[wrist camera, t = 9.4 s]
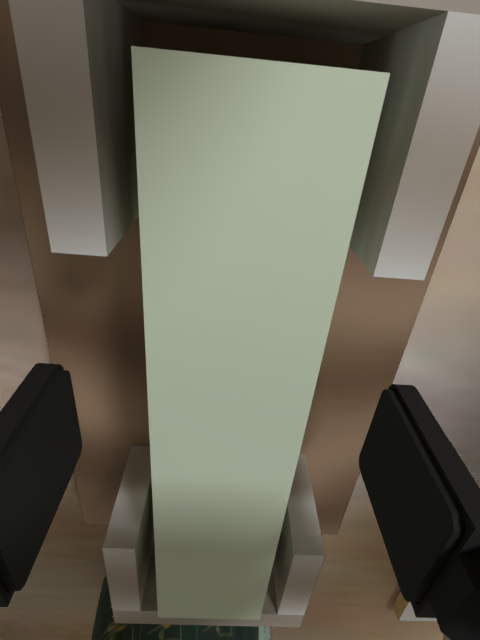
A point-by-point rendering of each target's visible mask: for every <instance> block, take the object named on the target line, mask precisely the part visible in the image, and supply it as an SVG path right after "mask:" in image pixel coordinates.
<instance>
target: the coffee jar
mask: <svg viewBox="0 0 480 640" xmlns="http://www.w3.org/2000/svg"><path fill="white" fill-rule="evenodd" d="M92 640H271V627H256V626H214V625H173V624H132V623H115V622H114V616H113V610H112V604H111V598H110V592H109V587H108V581H107V575H106V577H105V579H104V582H103V585H102V590H101V594H100V598H99V603H98V608H97V612H96V617H95V623H94V628H93V634H92Z"/></svg>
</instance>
